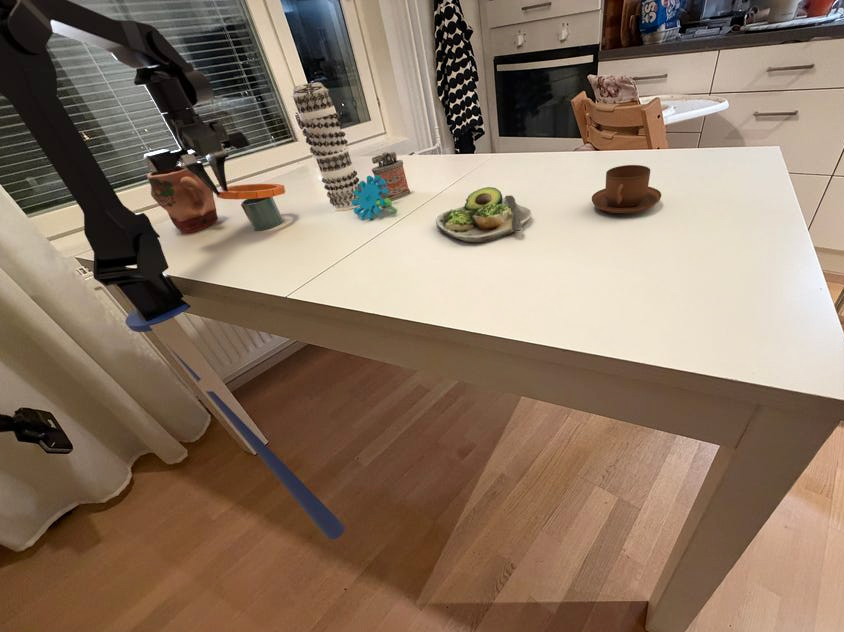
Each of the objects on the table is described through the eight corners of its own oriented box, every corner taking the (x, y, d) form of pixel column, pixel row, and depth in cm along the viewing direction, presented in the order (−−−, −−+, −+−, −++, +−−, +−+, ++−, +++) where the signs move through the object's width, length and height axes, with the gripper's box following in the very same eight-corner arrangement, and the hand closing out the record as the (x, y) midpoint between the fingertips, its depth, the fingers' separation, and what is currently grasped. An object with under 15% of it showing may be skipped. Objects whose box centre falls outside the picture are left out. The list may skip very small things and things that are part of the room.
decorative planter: (247, 218, 102) (217, 160, 93) (205, 238, 94) (168, 176, 85) (202, 215, 110) (170, 161, 101) (160, 233, 102) (121, 177, 93)
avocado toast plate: (558, 225, 71) (558, 199, 68) (471, 257, 66) (466, 230, 63) (504, 200, 85) (502, 178, 82) (428, 225, 80) (423, 202, 77)
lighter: (406, 191, 100) (395, 147, 94) (413, 193, 98) (402, 149, 92) (378, 201, 97) (365, 157, 91) (385, 203, 95) (372, 158, 88)
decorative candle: (348, 212, 93) (303, 86, 78) (323, 210, 98) (276, 90, 82) (374, 198, 99) (338, 78, 83) (349, 197, 103) (310, 82, 87)
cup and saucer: (665, 216, 67) (671, 178, 63) (593, 221, 70) (594, 185, 66) (653, 192, 76) (658, 158, 72) (589, 198, 79) (590, 165, 75)
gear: (343, 210, 89) (360, 168, 88) (362, 221, 95) (378, 181, 93) (375, 223, 84) (394, 179, 83) (394, 234, 89) (411, 192, 88)
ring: (232, 201, 82) (230, 194, 81) (208, 195, 90) (206, 188, 89) (296, 193, 91) (294, 187, 90) (269, 188, 99) (267, 182, 98)
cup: (261, 232, 91) (248, 206, 88) (248, 227, 95) (235, 202, 91) (288, 221, 95) (276, 195, 91) (275, 217, 99) (263, 192, 95)
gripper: (134, 122, 66) (191, 213, 76) (240, 98, 76) (278, 182, 86) (119, 122, 73) (173, 207, 83) (218, 100, 82) (256, 178, 92)
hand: (222, 193), depth 86 cm, fingers closed on ring, 1 cm apart
